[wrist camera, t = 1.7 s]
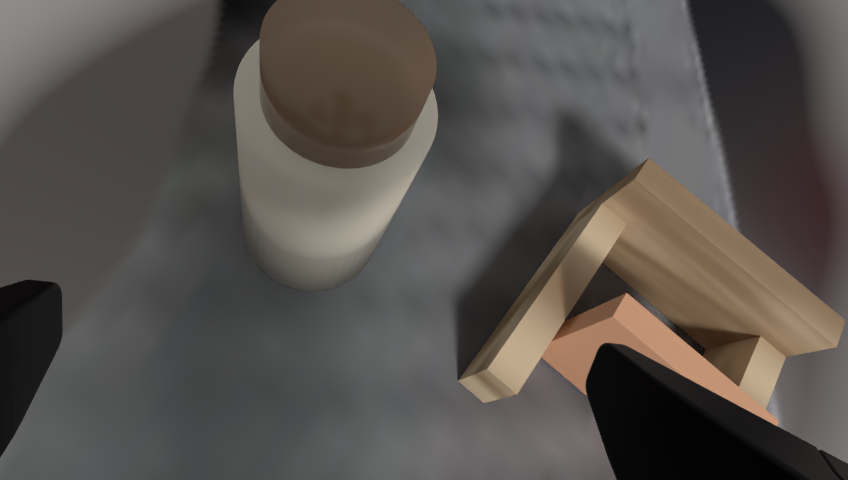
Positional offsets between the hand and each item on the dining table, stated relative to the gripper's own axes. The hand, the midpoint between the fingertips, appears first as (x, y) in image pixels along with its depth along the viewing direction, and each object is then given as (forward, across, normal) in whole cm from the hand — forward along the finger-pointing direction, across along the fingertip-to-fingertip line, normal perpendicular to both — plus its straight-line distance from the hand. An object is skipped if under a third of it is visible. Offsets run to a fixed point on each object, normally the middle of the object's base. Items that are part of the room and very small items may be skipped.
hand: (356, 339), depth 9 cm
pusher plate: (+11, -14, +9) cm, 20 cm away
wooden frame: (+12, -14, +8) cm, 20 cm away
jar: (+16, 0, +4) cm, 17 cm away
